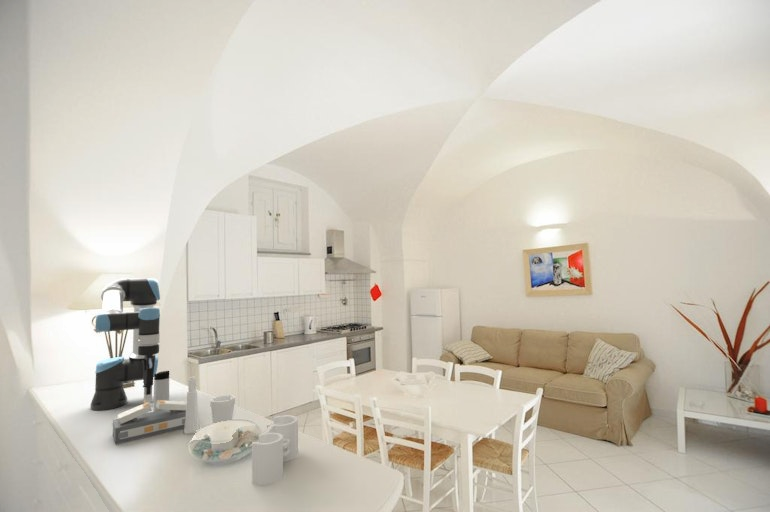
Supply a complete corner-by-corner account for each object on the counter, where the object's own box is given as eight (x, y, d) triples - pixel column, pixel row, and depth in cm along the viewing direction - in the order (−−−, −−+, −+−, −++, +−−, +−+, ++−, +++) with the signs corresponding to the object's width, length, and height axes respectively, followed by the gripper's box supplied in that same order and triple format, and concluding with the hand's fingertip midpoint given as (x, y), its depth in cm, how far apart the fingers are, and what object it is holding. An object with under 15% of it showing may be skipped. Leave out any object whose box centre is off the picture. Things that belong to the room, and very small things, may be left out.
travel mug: (162, 417, 174) (163, 373, 175) (150, 416, 175) (150, 372, 177) (172, 412, 180) (173, 369, 181) (160, 411, 181) (161, 369, 183)
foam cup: (210, 436, 151) (210, 403, 151) (209, 428, 159) (209, 397, 160) (236, 431, 155) (236, 399, 156) (233, 424, 163) (233, 393, 164)
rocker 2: (155, 405, 162) (157, 399, 163) (183, 407, 169) (185, 400, 169) (158, 409, 157) (160, 402, 158) (186, 410, 164) (188, 404, 165)
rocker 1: (118, 420, 154) (117, 414, 153) (149, 407, 161) (147, 401, 160) (120, 424, 149) (118, 418, 149) (151, 410, 156) (149, 404, 156)
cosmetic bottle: (203, 429, 158) (203, 376, 159) (189, 435, 153) (190, 379, 154) (193, 427, 161) (194, 374, 162) (180, 432, 156) (180, 378, 157)
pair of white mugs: (280, 485, 113) (279, 444, 114) (248, 485, 114) (248, 444, 115) (301, 448, 138) (301, 414, 139) (275, 448, 139) (275, 415, 140)
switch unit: (112, 434, 155) (113, 416, 155) (185, 418, 172) (186, 402, 172) (115, 444, 145) (115, 425, 145) (192, 426, 162) (192, 409, 162)
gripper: (136, 343, 162) (135, 400, 160) (140, 347, 152) (139, 407, 150) (156, 341, 167) (155, 396, 165) (161, 345, 157) (160, 403, 155)
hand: (147, 401), depth 158 cm, fingers closed
